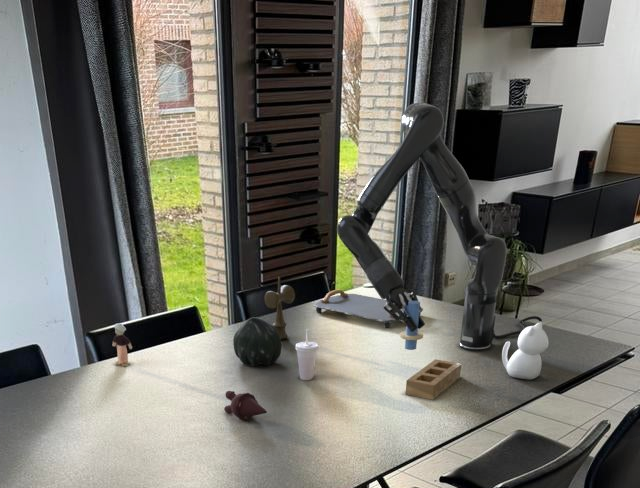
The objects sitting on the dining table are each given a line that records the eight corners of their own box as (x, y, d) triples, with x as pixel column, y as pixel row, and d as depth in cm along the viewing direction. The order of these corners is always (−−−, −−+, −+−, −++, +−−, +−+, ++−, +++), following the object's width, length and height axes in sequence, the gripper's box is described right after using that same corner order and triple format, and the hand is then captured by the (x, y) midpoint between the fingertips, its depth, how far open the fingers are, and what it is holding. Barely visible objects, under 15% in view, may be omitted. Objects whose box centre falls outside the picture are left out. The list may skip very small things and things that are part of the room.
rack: (433, 372, 211) (435, 359, 209) (460, 377, 207) (461, 363, 205) (405, 394, 197) (406, 380, 195) (432, 399, 193) (434, 385, 191)
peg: (409, 343, 211) (413, 297, 205) (426, 348, 207) (430, 302, 200) (394, 348, 208) (397, 302, 202) (411, 353, 204) (415, 306, 197)
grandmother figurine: (109, 365, 224) (104, 324, 217) (116, 361, 227) (111, 320, 220) (131, 367, 221) (126, 326, 215) (138, 363, 224) (133, 322, 218)
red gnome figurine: (278, 397, 180) (237, 387, 190) (256, 398, 175) (216, 388, 185) (275, 425, 182) (235, 414, 192) (254, 426, 177) (213, 415, 187)
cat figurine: (534, 385, 200) (544, 331, 193) (491, 375, 208) (499, 323, 200) (547, 376, 206) (557, 323, 198) (505, 367, 213) (513, 315, 206)
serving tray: (306, 311, 270) (306, 294, 267) (345, 299, 284) (346, 283, 281) (392, 331, 246) (393, 313, 243) (430, 316, 260) (432, 299, 257)
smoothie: (318, 374, 212) (318, 326, 205) (317, 381, 207) (318, 333, 200) (295, 373, 213) (296, 326, 206) (294, 381, 207) (294, 333, 200)
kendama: (295, 336, 244) (295, 275, 234) (278, 343, 238) (277, 281, 228) (281, 333, 248) (280, 272, 237) (263, 340, 241) (262, 278, 231)
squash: (280, 333, 229) (249, 301, 220) (297, 349, 217) (265, 316, 208) (248, 366, 231) (216, 336, 222) (263, 384, 219) (230, 352, 210)
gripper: (378, 274, 197) (414, 326, 196) (406, 264, 206) (441, 314, 205) (361, 291, 203) (395, 342, 202) (389, 281, 212) (422, 330, 211)
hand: (418, 328), depth 203 cm, fingers closed on peg, 3 cm apart
